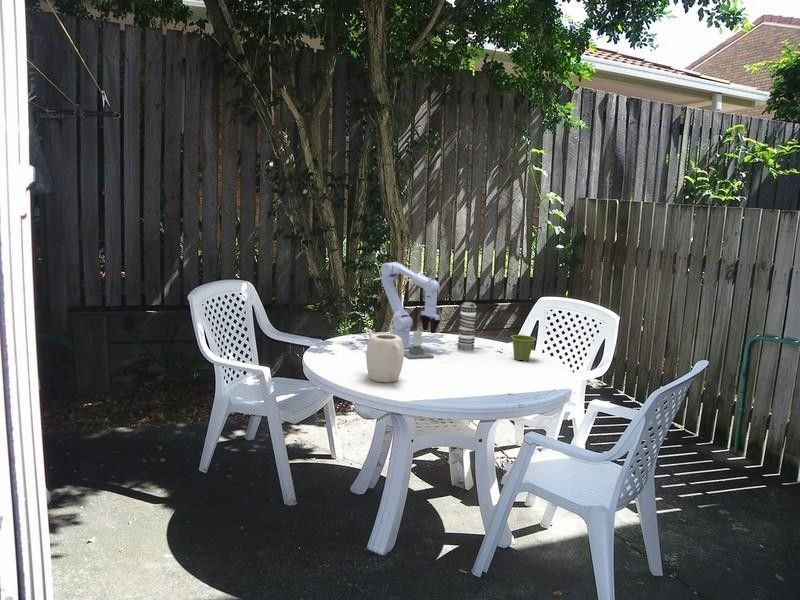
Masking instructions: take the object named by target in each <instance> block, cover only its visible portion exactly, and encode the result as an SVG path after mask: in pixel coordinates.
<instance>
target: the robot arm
mask: <svg viewBox="0 0 800 600" xmlns="http://www.w3.org/2000/svg"><path fill="white" fill-rule="evenodd" d="M379 271H380V274H381V285H382V287H383V289H384V291H385V294H386V297H387V299H388V302H389V304H390V308H391V309H392V312H393V316H392V321H393V327H394V328H393V329H392V330H391V331H390V332H391V333H390V334H394V335H397V336H399V337H400V338H402V342H403V345H404V350H405V349H409V346H411V345H410V335H411V334H410V332H411V327H413V324H414V323H413V318H412V317H411V316H410V314H409V312H408V311H406V310H405V308H404V307H403V304H402V301H401V299H400V297H399V293H398V291H397V289H396V286H395V283H394V280H395V278H396V277H397V276H398V275H399V274H400V275H402V276H403V277H407V278H408V279H411V280H412V281H413V284H415V285H417V286H418V287H420V288H421V289H423V290H424V292H425V298H424V300H425V302H424V310H421V311H420V312H421V313H420V314H421V315H420V316H419V319H420V321H421V325H422V330H423V331H428V329H429V326H430V334H436V332H437V328H438V326H439V324H440V322H441V319H440V315H438V313H437V301H438V291H439V290H440V287H441V286H440V283H439V281H437V279H432V278H431V277H427V276H425V275H424V273H423V272H422V273H419V272H417V273H416V272H413V271H412V270H411V269H409V268H407V267H406V266H404V265H403V264H402V263H399V262H398V261H393V262H384V263H383V264H382V265H381V267H380V269H379Z"/></svg>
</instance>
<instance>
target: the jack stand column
mask: <svg viewBox="0 0 800 600" xmlns="http://www.w3.org/2000/svg"><path fill="white" fill-rule="evenodd" d="M422 333H423V332H422V331H420V330H413V334H412V335H413V336H412V346H415V347H422V346H421V345H422Z"/></svg>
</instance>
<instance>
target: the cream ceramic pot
mask: <svg viewBox="0 0 800 600" xmlns="http://www.w3.org/2000/svg"><path fill="white" fill-rule="evenodd" d="M367 332H368V337H369V340H368V343H367V346H366V352H365V357H366V358H365V360H366V369H367V373H368V374H367V375H368V378H369V379H371V380H372V381H374V382H377V383H378V382H379V383H380V382H381V383H385V384H386V383H393V382H396V381H397V380H398V379H399V377H400V374H401V373H402V368H403V365H404V364H403V363H404V358H405V356H404V351H405V349H404V345H403V342H402V338H400V337H399V336H397V335H394V334H391V333H376V334H373V331H372V329H368V330H367Z"/></svg>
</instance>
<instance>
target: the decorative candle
mask: <svg viewBox="0 0 800 600" xmlns="http://www.w3.org/2000/svg"><path fill="white" fill-rule="evenodd" d="M460 307H461V308H460V312H459V313H458V315H459V316H458V318H459V319H458V325H459V326H458V329H459V332H458V337H457V342H458V343H457V347H456V348H457V352H459V353H464V354H472V353H474V352H475V351H474V350H475V340H476V338H475V330H476V326H477V324H476V322H478V320H477V319H478V317H477V307H478V306H477V305H476V303H475V302H471V301H469V302H468V301H465V302H463V303H462V304H460Z"/></svg>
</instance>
